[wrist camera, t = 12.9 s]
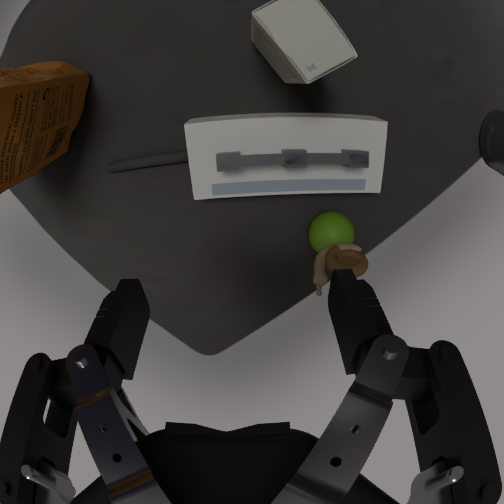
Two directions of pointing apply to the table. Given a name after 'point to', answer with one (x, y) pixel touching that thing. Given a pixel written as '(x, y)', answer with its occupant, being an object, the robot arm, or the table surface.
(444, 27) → the table surface
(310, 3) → the skincare box
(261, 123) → the strip
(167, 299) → the table surface
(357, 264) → the snail figurine
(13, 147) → the coffee package
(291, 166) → the breaker paddles
